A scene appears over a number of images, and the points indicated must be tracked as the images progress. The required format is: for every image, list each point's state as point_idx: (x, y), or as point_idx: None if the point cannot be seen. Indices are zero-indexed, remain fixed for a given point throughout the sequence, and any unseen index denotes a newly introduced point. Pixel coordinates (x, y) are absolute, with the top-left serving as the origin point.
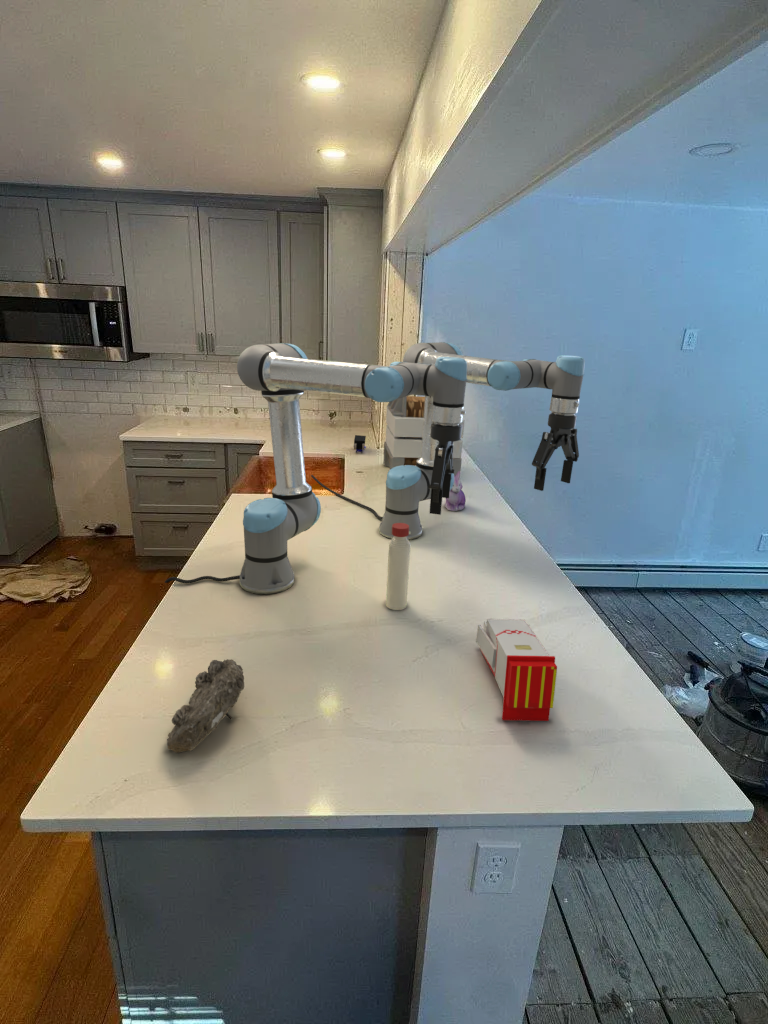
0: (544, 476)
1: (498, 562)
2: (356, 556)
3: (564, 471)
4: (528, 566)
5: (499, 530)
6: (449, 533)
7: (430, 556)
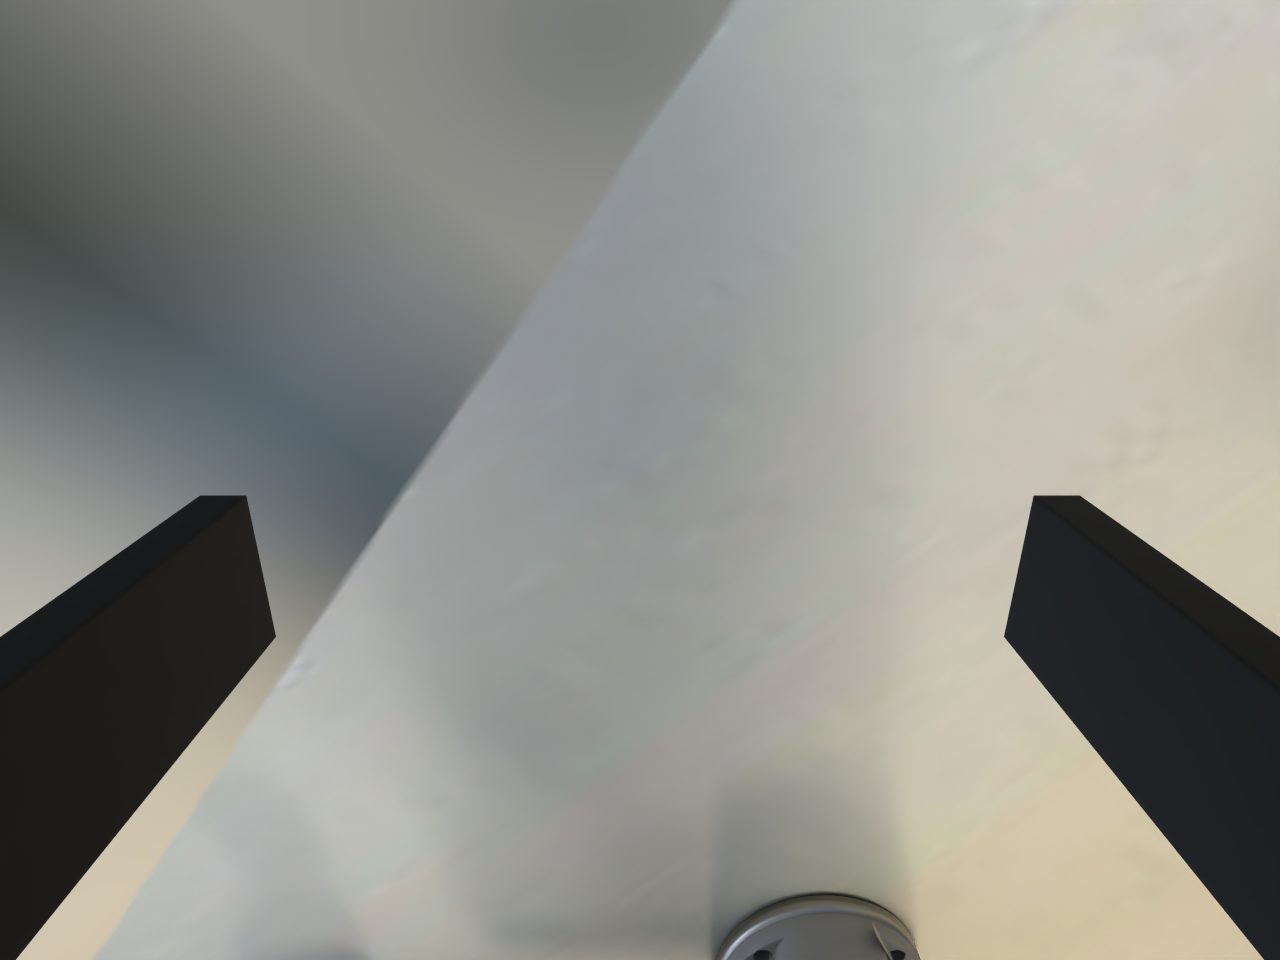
0: (1266, 642)
1: (718, 523)
2: (1173, 895)
3: (158, 721)
4: (622, 397)
5: (367, 764)
6: (631, 859)
7: (932, 744)
